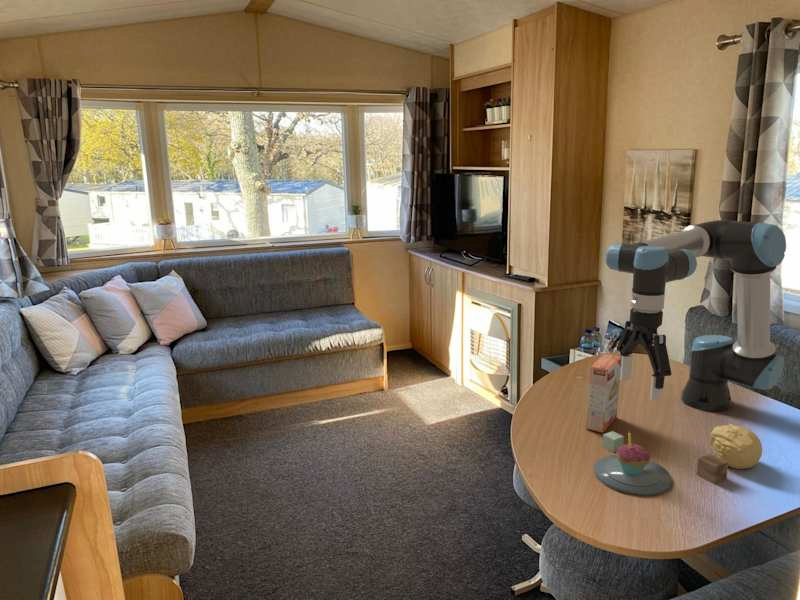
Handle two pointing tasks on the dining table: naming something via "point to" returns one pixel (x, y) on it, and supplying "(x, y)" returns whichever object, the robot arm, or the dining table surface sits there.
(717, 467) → the walnut block
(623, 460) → the cupcake
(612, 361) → the cracker box
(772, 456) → the dining table surface
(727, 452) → the sculpture
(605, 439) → the sage block
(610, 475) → the plate
